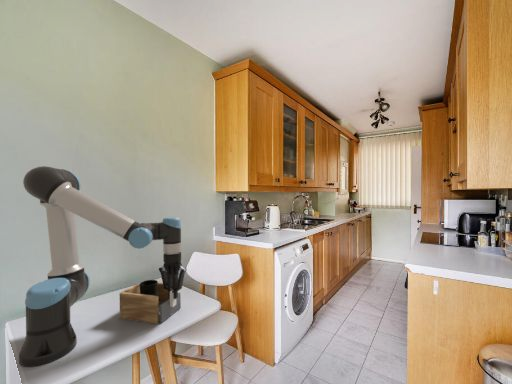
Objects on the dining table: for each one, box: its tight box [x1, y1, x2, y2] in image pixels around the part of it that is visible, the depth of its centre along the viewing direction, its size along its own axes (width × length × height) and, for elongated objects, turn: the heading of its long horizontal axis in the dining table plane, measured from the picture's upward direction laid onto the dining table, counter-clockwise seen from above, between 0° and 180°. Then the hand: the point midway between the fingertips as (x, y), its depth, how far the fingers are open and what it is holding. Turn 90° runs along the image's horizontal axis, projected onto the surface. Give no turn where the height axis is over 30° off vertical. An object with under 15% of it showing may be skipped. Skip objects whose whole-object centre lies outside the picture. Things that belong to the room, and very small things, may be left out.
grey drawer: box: [159, 292, 182, 323], centre depth 110 cm, size 14×18×7 cm
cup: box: [138, 279, 159, 296], centre depth 111 cm, size 8×8×12 cm
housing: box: [119, 281, 170, 324], centre depth 110 cm, size 15×19×11 cm
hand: (173, 305), depth 107 cm, fingers closed
